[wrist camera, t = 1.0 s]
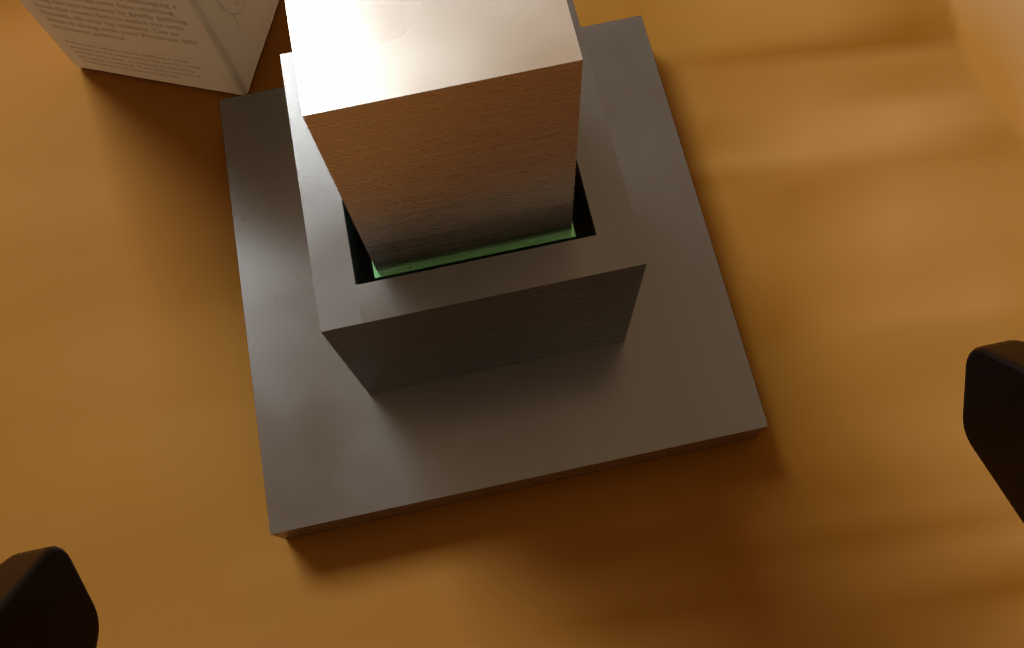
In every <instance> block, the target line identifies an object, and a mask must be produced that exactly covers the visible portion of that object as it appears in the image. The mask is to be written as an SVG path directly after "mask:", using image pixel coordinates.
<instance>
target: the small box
mask: <svg viewBox="0 0 1024 648" xmlns="http://www.w3.org/2000/svg"><path fill="white" fill-rule="evenodd" d="M20 1H21V3H22V4H23V5H24V6H25V7H26V8H27V10H28V11H29V12H30V13H31V14H32V15H33V17H34V18H35V19H36V20H37V21H38V22H39V23H40V25H41V26H42V27H43V28H44V29H45V30H46V31H47V33H48V34H49V35H50V36H51V37H52V38H53V40H54V41H55V42H56V43H57V44H58V45H59V47H60V48H61V49H62V50H63V51H64V53H65V54H66V55H67V56H68V57H69V58H70V59H71V61H72V62H73V63H74V64H75V65H77V66H78V67H81V68H87V69H93V70H99V71H105V72H110V73H116V74H122V75H127V76H133V77H138V78H144V79H150V80H156V81H162V82H168V83H173V84H179V85H185V86H191V87H197V88H203V89H209V90H215V91H221V92H227V93H233V94H238V95H246V94H247V93H248V91H249V88H250V85H251V82H252V79H253V76H254V73H255V70H256V67H257V64H258V61H259V58H260V55H261V52H262V49H263V46H264V44H265V41H266V38H267V35H268V32H269V29H270V26H271V23H272V20H273V17H274V14H275V11H276V8H277V5H278V2H279V0H20Z"/></svg>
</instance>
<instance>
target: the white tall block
mask: <svg viewBox="0 0 1024 648" xmlns="http://www.w3.org/2000/svg"><path fill="white" fill-rule="evenodd" d="M285 6H286V13H287V19H288V26H289V32H290V39H291V45H292V52H293V59H294V65H295V72H296V78H297V85H298V91H299V98H300V104H301V111H302V117H303V119H304V121H305V123H306V125H307V127H308V129H309V131H310V133H311V135H312V137H313V139H314V141H315V144H316V146H317V148H318V150H319V152H320V154H321V156H322V158H323V160H324V162H325V164H326V166H327V168H328V171H329V173H330V175H331V177H332V179H333V181H334V183H335V185H336V187H337V189H338V191H339V193H340V195H341V198H342V200H343V202H344V204H345V206H346V208H347V210H348V212H349V214H350V216H351V218H352V220H353V222H354V225H355V227H356V229H357V231H358V233H359V235H360V237H361V239H362V241H363V243H364V245H365V247H366V249H367V252H368V254H369V256H370V258H371V260H372V264H373V270H374V276H375V279H376V281H378V280H383V279H388V278H393V277H398V276H402V275H407V274H412V273H417V272H422V271H426V270H431V269H436V268H441V267H446V266H450V265H455V264H460V263H465V262H470V261H474V260H479V259H484V258H489V257H494V256H498V255H503V254H508V253H513V252H518V251H522V250H527V249H532V248H537V247H542V246H547V245H551V244H556V243H561V242H566V241H571V240H575V239H576V235H575V231H574V227H573V223H572V215H573V200H574V185H575V171H576V156H577V141H578V126H579V111H580V96H581V82H582V67H583V58H582V54H581V51H580V47H579V44H578V40H577V36H576V33H575V29H574V26H573V22H572V18H571V15H570V11H569V8H568V4H567V0H285Z"/></svg>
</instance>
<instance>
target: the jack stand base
mask: <svg viewBox="0 0 1024 648" xmlns="http://www.w3.org/2000/svg"><path fill="white" fill-rule="evenodd" d="M567 4H568V8H569V11H570V15H571V18H572V22H573V26H574V29H575V33H576V36H577V40H578V44H579V47H580V51H581V54H582V58H583V67H582V82H581V96H580V111H579V126H578V141H577V156H576V171H575V185H574V200H573V215H572V223H573V227H574V231H575V235H576V239H575V240H571V241H566V242H561V243H556V244H551V245H547V246H542V247H537V248H532V249H527V250H522V251H518V252H513V253H508V254H503V255H498V256H494V257H489V258H484V259H479V260H474V261H470V262H465V263H460V264H455V265H450V266H446V267H441V268H436V269H431V270H426V271H422V272H417V273H412V274H407V275H402V276H398V277H393V278H388V279H383V280H378V281H376V279H375V276H374V270H373V264H372V260H371V258H370V256H369V254H368V252H367V249H366V247H365V245H364V243H363V241H362V239H361V237H360V235H359V233H358V231H357V229H356V227H355V225H354V222H353V220H352V218H351V216H350V214H349V212H348V210H347V208H346V206H345V204H344V202H343V200H342V198H341V195H340V193H339V191H338V189H337V187H336V185H335V183H334V181H333V179H332V177H331V175H330V173H329V171H328V168H327V166H326V164H325V162H324V160H323V158H322V156H321V154H320V152H319V150H318V148H317V146H316V144H315V141H314V139H313V137H312V135H311V133H310V131H309V129H308V127H307V125H306V123H305V121H304V119H303V117H302V111H301V104H300V98H299V91H298V85H297V78H296V72H295V65H294V59H293V52H289V53H284V54H280V59H281V66H282V73H283V80H284V86H285V87H281V88H276V89H271V90H266V91H261V92H256V93H251V94H246V95H241V96H236V97H231V98H226V99H221V100H219V105H220V113H221V122H222V130H223V139H224V147H225V155H226V164H227V172H228V181H229V189H230V197H231V206H232V214H233V223H234V231H235V239H236V248H237V256H238V265H239V273H240V282H241V290H242V298H243V307H244V315H245V324H246V332H247V340H248V349H249V357H250V366H251V374H252V382H253V391H254V399H255V408H256V416H257V424H258V433H259V441H260V450H261V458H262V467H263V475H264V483H265V492H266V500H267V509H268V517H269V525H270V534H271V535H275V536H278V537H281V538H284V539H286V538H291V537H295V536H300V535H304V534H309V533H314V532H318V531H323V530H327V529H332V528H337V527H341V526H346V525H350V524H355V523H360V522H364V521H369V520H374V519H378V518H383V517H387V516H392V515H397V514H401V513H406V512H410V511H415V510H420V509H424V508H429V507H433V506H438V505H443V504H447V503H452V502H456V501H461V500H466V499H470V498H475V497H479V496H484V495H489V494H493V493H498V492H502V491H507V490H512V489H516V488H521V487H525V486H530V485H535V484H539V483H544V482H549V481H553V480H558V479H562V478H567V477H572V476H576V475H581V474H585V473H590V472H595V471H599V470H604V469H608V468H613V467H618V466H622V465H627V464H631V463H636V462H641V461H645V460H650V459H654V458H659V457H664V456H668V455H673V454H677V453H682V452H687V451H691V450H696V449H700V448H705V447H710V446H714V445H719V444H724V443H728V442H733V441H737V440H742V439H747V438H751V437H756V436H758V435H759V434H760V433H761V432H762V431H763V430H765V429H766V428H767V427H768V424H767V420H766V417H765V414H764V411H763V408H762V404H761V401H760V398H759V395H758V391H757V388H756V385H755V382H754V378H753V375H752V372H751V369H750V366H749V362H748V359H747V356H746V353H745V349H744V346H743V343H742V340H741V336H740V333H739V330H738V327H737V324H736V320H735V317H734V314H733V311H732V307H731V304H730V301H729V298H728V294H727V291H726V288H725V285H724V282H723V278H722V275H721V272H720V269H719V265H718V262H717V259H716V256H715V252H714V249H713V246H712V243H711V240H710V236H709V233H708V230H707V227H706V223H705V220H704V217H703V214H702V211H701V207H700V204H699V201H698V198H697V194H696V191H695V188H694V185H693V181H692V178H691V175H690V172H689V169H688V165H687V162H686V159H685V156H684V152H683V149H682V146H681V143H680V139H679V136H678V133H677V130H676V127H675V123H674V120H673V117H672V114H671V110H670V107H669V104H668V101H667V97H666V94H665V91H664V88H663V85H662V81H661V78H660V75H659V72H658V68H657V65H656V62H655V59H654V55H653V52H652V49H651V46H650V43H649V39H648V36H647V33H646V30H645V26H644V23H643V20H642V17H641V16H636V17H631V18H626V19H621V20H616V21H611V22H606V23H601V24H596V25H591V26H586V27H581V28H580V25H579V21H578V17H577V14H576V10H575V7H574V3H573V0H567Z"/></svg>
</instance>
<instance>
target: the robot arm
mask: <svg viewBox="0 0 1024 648" xmlns="http://www.w3.org/2000/svg"><path fill="white" fill-rule="evenodd" d="M963 424H964V429H965V433H966V436H967V438H968V440H969V442H970V444H971V446H972V447H973V449H974V450H975V452H976V453H977V455H978V456H979V458H980V459H981V460H982V462H983V463H984V465H985V466H986V468H987V469H988V471H989V472H990V474H991V475H992V477H993V478H994V480H995V481H996V483H997V484H998V486H999V487H1000V489H1001V490H1002V492H1003V493H1004V495H1005V496H1006V498H1007V499H1008V501H1009V502H1010V504H1011V505H1012V507H1013V508H1014V510H1015V511H1016V513H1017V514H1018V516H1019V517H1020V519H1021V520H1022V522H1023V523H1024V342H1022V341H1017V340H1009V341H1004V342H999V343H994V344H990V345H985V346H981V347H977V348H975V349H974V350H973V351H972V352H971V353H970V354H969V356H968V358H967V363H966V374H965V391H964V408H963ZM98 634H99V622H98V615H97V612H96V609H95V606H94V604H93V602H92V600H91V598H90V596H89V594H88V592H87V590H86V588H85V586H84V584H83V582H82V580H81V578H80V576H79V574H78V572H77V570H76V568H75V566H74V564H73V563H72V561H71V559H70V557H69V556H68V554H67V553H66V552H65V551H64V550H63V549H61V548H59V547H56V546H51V547H46V548H41V549H36V550H32V551H27V552H22V553H18V554H16V555H13V556H11V557H10V558H8V559H7V560H6V561H4V562H3V563H2V564H0V648H96V647H97V641H98Z"/></svg>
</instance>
